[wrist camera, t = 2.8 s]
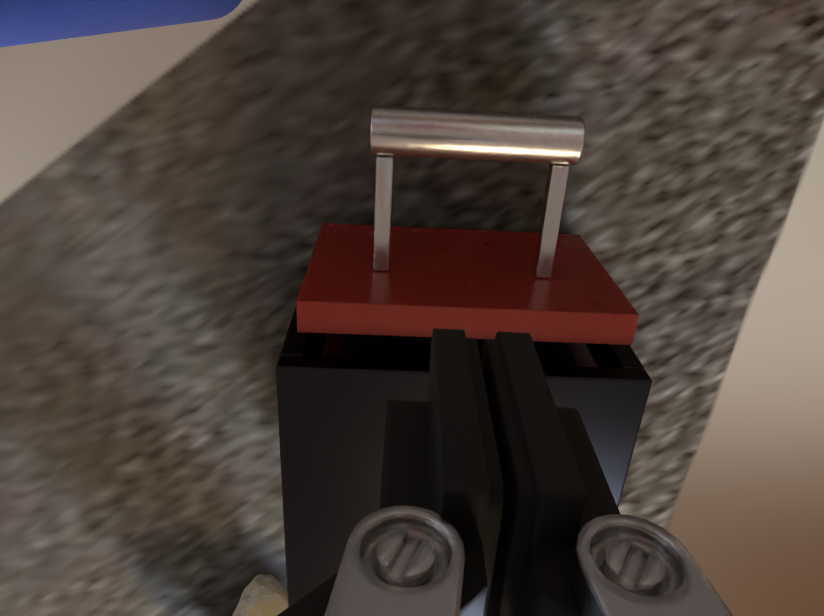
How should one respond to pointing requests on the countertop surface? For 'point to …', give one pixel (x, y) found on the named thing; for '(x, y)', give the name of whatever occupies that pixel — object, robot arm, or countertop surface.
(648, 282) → the countertop surface
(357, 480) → the black drawer housing
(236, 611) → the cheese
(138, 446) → the countertop surface
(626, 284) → the countertop surface
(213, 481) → the countertop surface
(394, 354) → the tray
